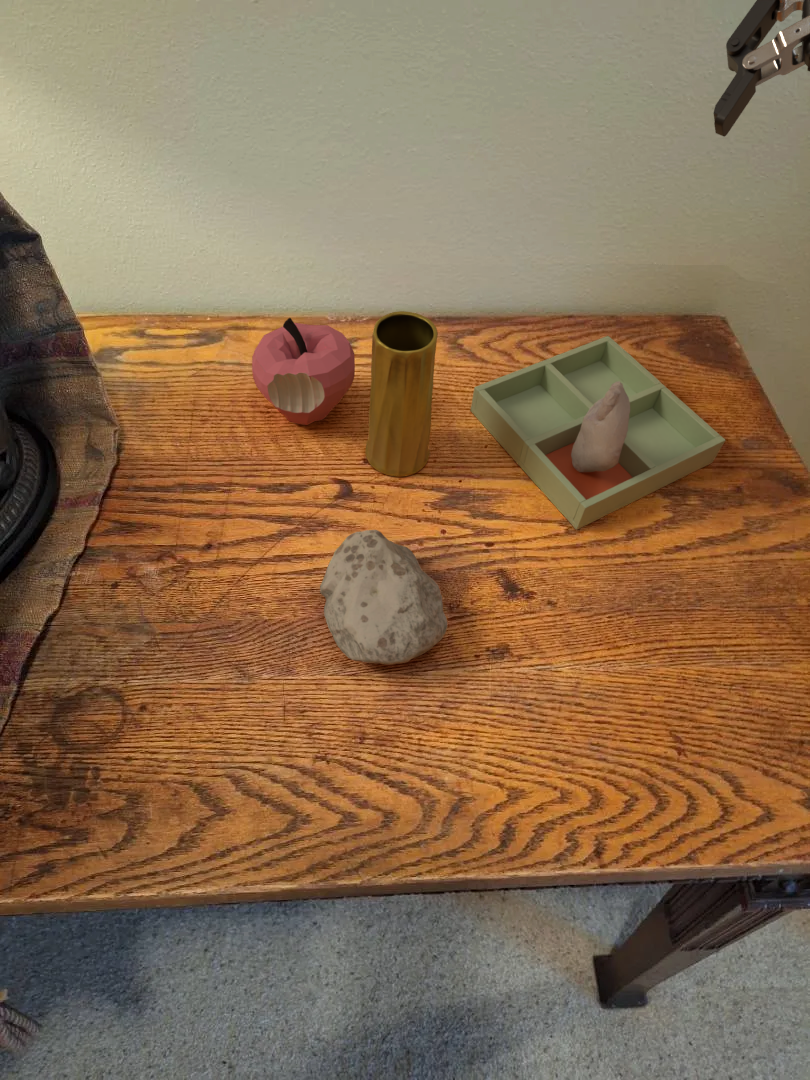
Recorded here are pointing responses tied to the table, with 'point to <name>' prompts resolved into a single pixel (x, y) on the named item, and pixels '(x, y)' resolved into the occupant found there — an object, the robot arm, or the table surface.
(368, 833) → the table surface
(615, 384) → the grey brown rock
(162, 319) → the table surface
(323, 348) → the apple
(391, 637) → the decorative stone
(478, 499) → the table surface
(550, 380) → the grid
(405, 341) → the vase
